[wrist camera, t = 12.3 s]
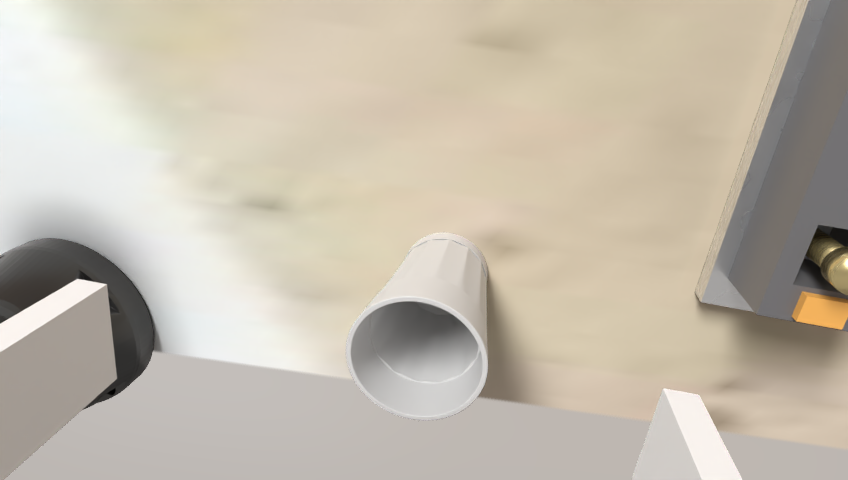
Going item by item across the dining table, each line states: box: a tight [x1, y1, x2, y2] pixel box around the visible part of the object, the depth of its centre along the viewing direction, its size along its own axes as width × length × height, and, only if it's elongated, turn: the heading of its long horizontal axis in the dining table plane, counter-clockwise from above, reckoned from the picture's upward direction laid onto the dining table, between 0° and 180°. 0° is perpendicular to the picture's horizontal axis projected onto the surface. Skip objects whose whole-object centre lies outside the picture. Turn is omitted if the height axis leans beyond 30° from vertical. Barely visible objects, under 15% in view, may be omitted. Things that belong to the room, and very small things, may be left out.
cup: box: [346, 233, 488, 420], centre depth 36 cm, size 8×8×12 cm
